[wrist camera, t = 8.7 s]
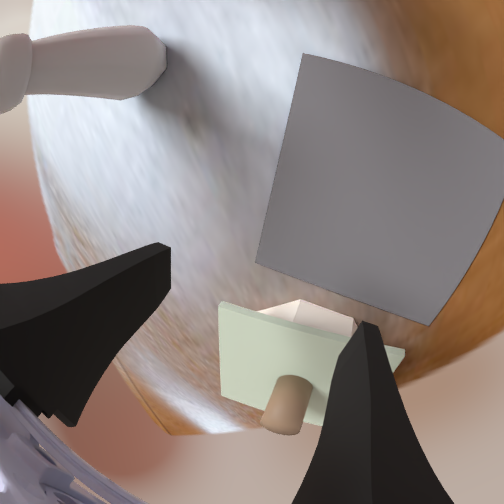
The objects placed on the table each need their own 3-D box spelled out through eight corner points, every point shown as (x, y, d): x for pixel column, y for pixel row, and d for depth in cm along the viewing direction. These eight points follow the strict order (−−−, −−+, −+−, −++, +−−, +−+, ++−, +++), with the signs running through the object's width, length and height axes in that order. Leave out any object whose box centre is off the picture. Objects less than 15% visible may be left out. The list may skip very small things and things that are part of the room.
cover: (404, 349, 15) (405, 407, 12) (344, 425, 22) (334, 464, 18) (222, 300, 19) (188, 348, 15) (223, 391, 26) (204, 426, 22)
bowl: (387, 329, 20) (387, 367, 16) (335, 392, 26) (328, 423, 23) (262, 284, 22) (244, 317, 19) (241, 358, 28) (226, 387, 25)
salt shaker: (192, 56, 15) (7, 53, 4) (146, 112, 18) (-14, 158, 7) (150, 17, 13) (-7, 9, 3) (112, 70, 17) (-31, 96, 6)
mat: (517, 150, 10) (519, 151, 9) (428, 323, 18) (428, 326, 18) (303, 54, 13) (302, 53, 12) (256, 260, 21) (254, 262, 21)
